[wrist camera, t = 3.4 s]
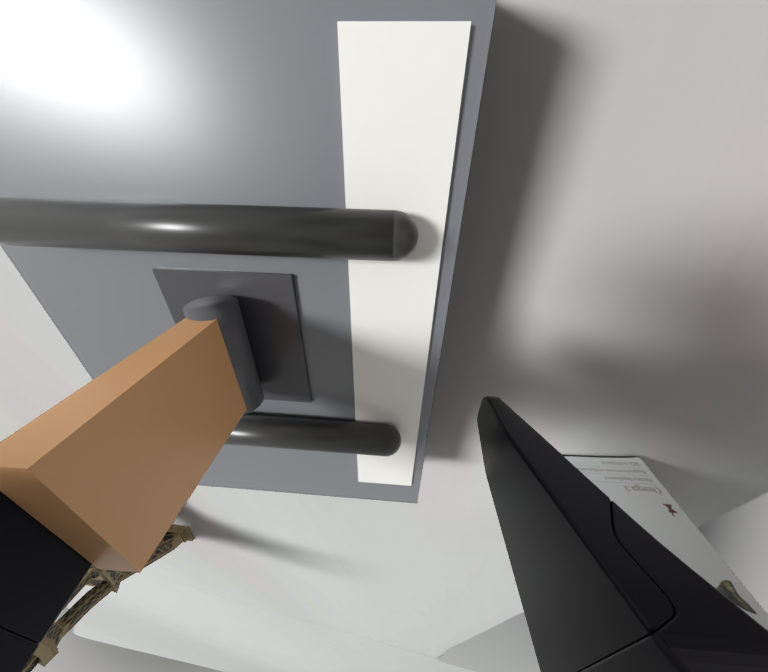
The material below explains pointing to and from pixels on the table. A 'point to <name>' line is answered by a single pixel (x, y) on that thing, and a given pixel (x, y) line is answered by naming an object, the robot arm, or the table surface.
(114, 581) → the eiffel tower
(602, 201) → the table surface
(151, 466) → the breaker lever
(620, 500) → the supplement box
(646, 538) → the robot arm
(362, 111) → the breaker panel
